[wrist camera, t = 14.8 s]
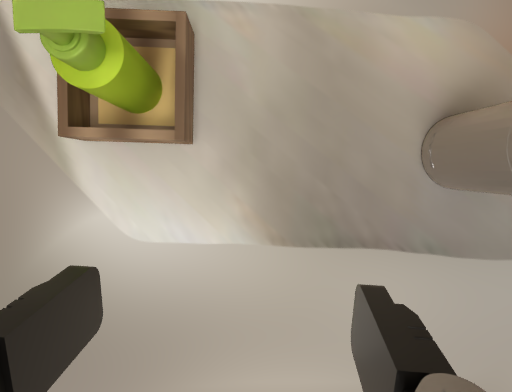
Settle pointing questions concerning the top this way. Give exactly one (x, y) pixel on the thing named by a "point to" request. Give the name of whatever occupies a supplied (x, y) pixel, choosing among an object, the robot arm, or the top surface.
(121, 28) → the walnut box
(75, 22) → the soap dispenser
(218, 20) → the top surface
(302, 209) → the top surface
